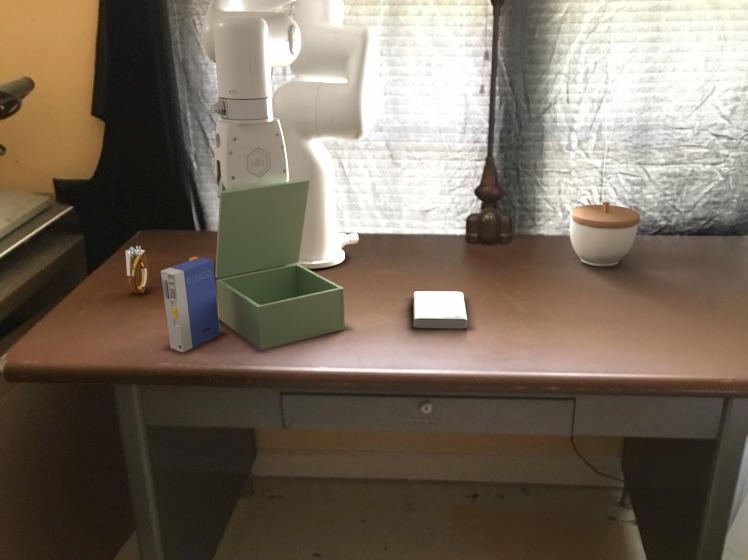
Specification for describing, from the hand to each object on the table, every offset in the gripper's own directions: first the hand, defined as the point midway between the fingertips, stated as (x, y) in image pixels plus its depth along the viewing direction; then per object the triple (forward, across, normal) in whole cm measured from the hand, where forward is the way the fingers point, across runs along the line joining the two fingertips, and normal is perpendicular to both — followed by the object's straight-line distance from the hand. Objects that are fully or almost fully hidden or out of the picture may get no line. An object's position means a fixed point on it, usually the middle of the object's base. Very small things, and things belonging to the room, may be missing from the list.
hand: (255, 234), depth 130 cm
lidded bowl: (+13, +65, -12) cm, 67 cm away
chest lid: (-1, 0, -3) cm, 3 cm away
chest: (+13, 0, -7) cm, 14 cm away
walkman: (+13, -14, -6) cm, 20 cm away
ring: (+13, -13, +19) cm, 26 cm away
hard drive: (+13, +23, -17) cm, 31 cm away
